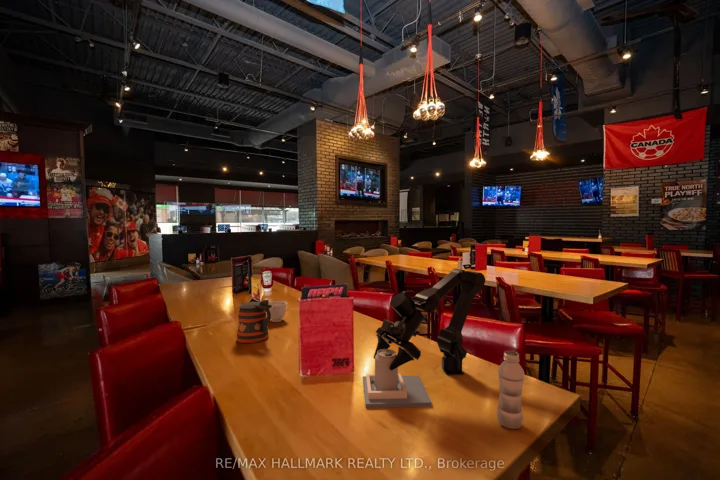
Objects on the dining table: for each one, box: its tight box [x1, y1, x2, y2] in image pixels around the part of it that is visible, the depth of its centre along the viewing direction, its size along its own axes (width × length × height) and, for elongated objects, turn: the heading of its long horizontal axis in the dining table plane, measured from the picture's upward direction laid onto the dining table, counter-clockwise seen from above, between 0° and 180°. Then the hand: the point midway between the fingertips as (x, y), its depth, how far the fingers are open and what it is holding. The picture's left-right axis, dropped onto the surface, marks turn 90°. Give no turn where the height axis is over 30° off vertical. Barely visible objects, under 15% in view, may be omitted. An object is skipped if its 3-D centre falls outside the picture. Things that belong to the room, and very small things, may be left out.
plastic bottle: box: [495, 350, 526, 430], centre depth 86 cm, size 6×7×20 cm
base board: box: [362, 373, 433, 409], centre depth 103 cm, size 20×17×3 cm
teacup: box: [269, 300, 288, 323], centre depth 177 cm, size 12×15×10 cm
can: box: [374, 348, 399, 391], centre depth 102 cm, size 8×8×12 cm
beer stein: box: [236, 299, 272, 344], centre depth 150 cm, size 19×15×20 cm
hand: (382, 363), depth 102 cm, fingers open, 9 cm apart
